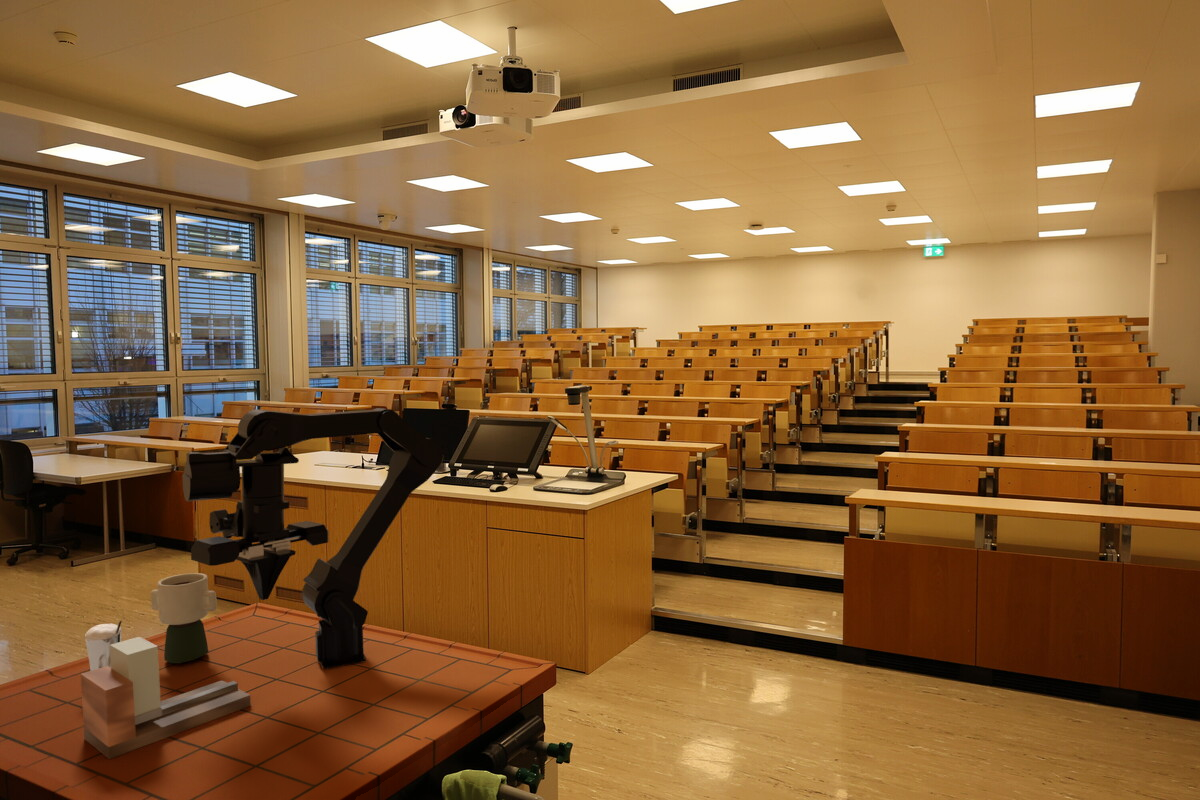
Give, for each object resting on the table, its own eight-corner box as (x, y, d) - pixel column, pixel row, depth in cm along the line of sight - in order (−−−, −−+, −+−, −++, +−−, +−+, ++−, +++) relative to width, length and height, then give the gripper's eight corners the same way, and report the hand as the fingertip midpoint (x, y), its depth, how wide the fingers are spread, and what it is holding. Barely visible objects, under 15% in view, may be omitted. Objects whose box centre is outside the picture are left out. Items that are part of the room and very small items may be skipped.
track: (222, 690, 112) (219, 632, 111) (250, 705, 107) (248, 645, 106) (84, 739, 98) (80, 673, 97) (109, 759, 93) (105, 690, 92)
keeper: (142, 702, 102) (138, 636, 102) (162, 715, 99) (158, 646, 98) (112, 712, 99) (109, 644, 99) (131, 726, 96) (128, 655, 95)
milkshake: (111, 694, 111) (107, 626, 110) (80, 691, 112) (76, 624, 111) (136, 681, 115) (133, 615, 114) (106, 678, 116) (102, 613, 116)
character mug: (231, 651, 126) (228, 573, 125) (205, 669, 119) (201, 586, 118) (169, 649, 127) (165, 572, 127) (139, 667, 120) (135, 585, 119)
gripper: (289, 482, 126) (289, 576, 127) (171, 497, 111) (172, 603, 112) (330, 489, 120) (330, 588, 121) (211, 506, 105) (212, 619, 105)
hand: (263, 599), depth 115 cm, fingers closed
